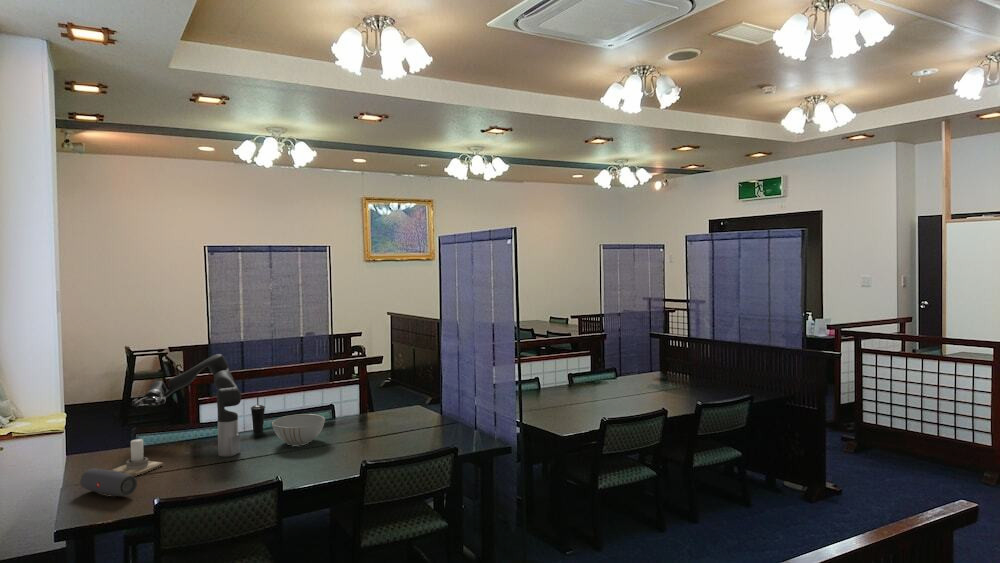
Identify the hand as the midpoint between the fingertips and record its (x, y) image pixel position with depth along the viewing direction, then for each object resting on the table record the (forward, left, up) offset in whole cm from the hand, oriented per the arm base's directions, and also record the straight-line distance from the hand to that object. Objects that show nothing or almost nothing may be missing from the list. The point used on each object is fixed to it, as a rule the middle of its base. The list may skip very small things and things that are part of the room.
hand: (146, 404), depth 306 cm
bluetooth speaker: (-24, +43, -26) cm, 56 cm away
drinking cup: (-23, -54, -26) cm, 64 cm away
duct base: (-10, +15, -26) cm, 32 cm away
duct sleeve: (-10, +15, -24) cm, 31 cm away
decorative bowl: (-58, -42, -26) cm, 76 cm away
